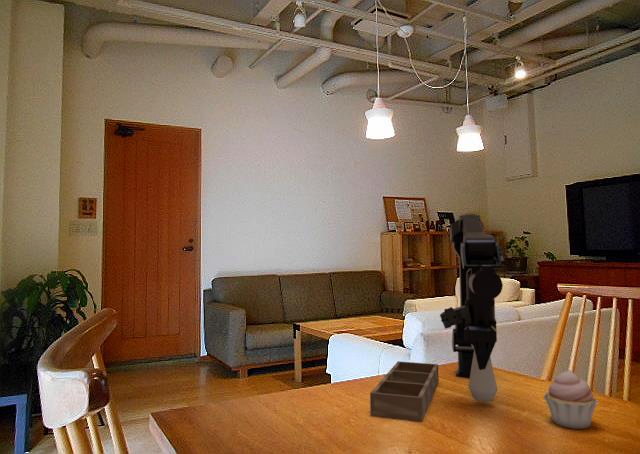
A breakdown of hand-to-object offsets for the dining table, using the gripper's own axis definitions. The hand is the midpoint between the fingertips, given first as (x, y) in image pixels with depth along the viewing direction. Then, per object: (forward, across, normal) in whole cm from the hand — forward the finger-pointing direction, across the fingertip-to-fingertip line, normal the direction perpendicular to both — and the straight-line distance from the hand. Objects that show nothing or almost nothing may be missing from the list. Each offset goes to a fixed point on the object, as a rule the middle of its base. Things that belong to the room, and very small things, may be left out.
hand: (482, 367), depth 102 cm
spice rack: (+8, 0, -16) cm, 18 cm away
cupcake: (+8, +6, +16) cm, 19 cm away
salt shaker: (+7, 0, 0) cm, 7 cm away
